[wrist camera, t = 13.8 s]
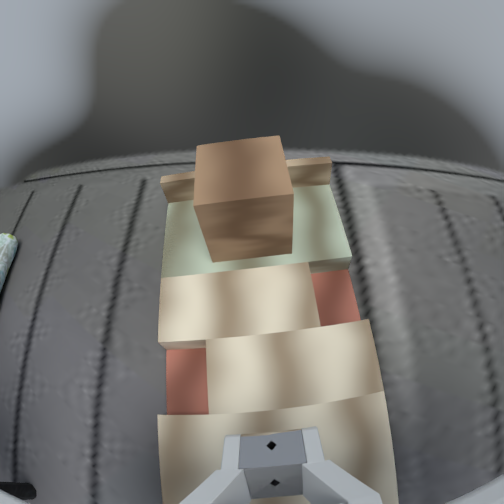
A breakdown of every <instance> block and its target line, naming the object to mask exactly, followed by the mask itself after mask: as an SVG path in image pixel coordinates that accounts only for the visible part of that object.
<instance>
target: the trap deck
mask: <svg viewBox="0 0 504 504" xmlns="http://www.w3.org/2000/svg"><path fill="white" fill-rule="evenodd" d="M286 164H287V168H288V172H289V176H290V180H291V184H292V188H293V192H294V209H293V240H292V254H284V255H275V256H267V257H258V258H250V259H241V260H232V261H223V262H215V263H213V262H212V259H211V257H210V254H209V251H208V248H207V245H206V242H205V239H204V236H203V233H202V230H201V228H200V225H199V222H198V219H197V216H196V213H195V210H194V207H193V200H194V182H195V171H192V172H186V173H180V174H174V175H168V176H162V177H161V182H160V184H161V186H162V189H163V191H164V194H165V196H166V199H167V201H168V211H167V219H166V229H165V239H164V249H163V261H162V274H161V288H160V305H159V325H158V343H159V344H160V345H162V346H163V347H164V348H165V349H166V350H167V356H166V388H167V415H158V442H159V461H160V477H161V489H162V500H163V504H179V503H180V502H181V501H183V500H184V499H185V498H186V497H187V496H188V495H189V494H190V493H192V492H193V491H194V490H195V489H196V488H197V487H198V486H199V485H200V484H202V483H203V482H204V481H205V480H206V479H207V478H208V477H209V476H210V475H211V474H212V473H213V472H214V471H215V470H221V462H222V454H223V446H224V438H225V436H226V435H234V434H253V433H269V432H277V431H286V430H294V429H301V428H307V427H314V426H316V427H317V428H318V432H319V436H320V440H321V445H322V449H323V454H324V458H325V460H331V461H332V462H333V463H335V464H336V465H338V466H339V467H340V468H342V469H343V470H345V471H346V472H347V473H349V474H350V475H352V476H353V477H355V478H356V479H358V480H359V481H361V482H362V483H364V484H365V485H367V486H368V487H370V488H371V489H373V490H374V491H376V492H377V493H379V494H380V497H381V500H382V503H383V504H399V501H398V489H397V479H396V469H395V460H394V452H393V445H392V437H391V430H390V424H389V417H388V411H387V405H386V399H385V394H384V388H383V383H382V378H381V373H380V368H379V363H378V358H377V353H376V348H375V344H374V339H373V335H372V331H371V326H370V322H369V319H366V320H361V319H360V315H359V311H358V307H357V303H356V298H355V294H354V290H353V286H352V283H351V279H350V275H349V271H348V267H349V264H350V261H351V258H352V254H351V251H350V247H349V244H348V241H347V237H346V234H345V231H344V228H343V224H342V221H341V218H340V215H339V212H338V209H337V206H336V203H335V200H334V197H333V194H332V191H331V188H330V185H329V183H330V176H331V168H332V162H331V159H330V157H317V158H304V159H292V160H286ZM249 504H311V503H310V502H309V501H308V500H307V499H306V498H305V497H304V496H303V495H295V496H283V497H272V498H261V499H251V502H250V503H249Z"/></svg>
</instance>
